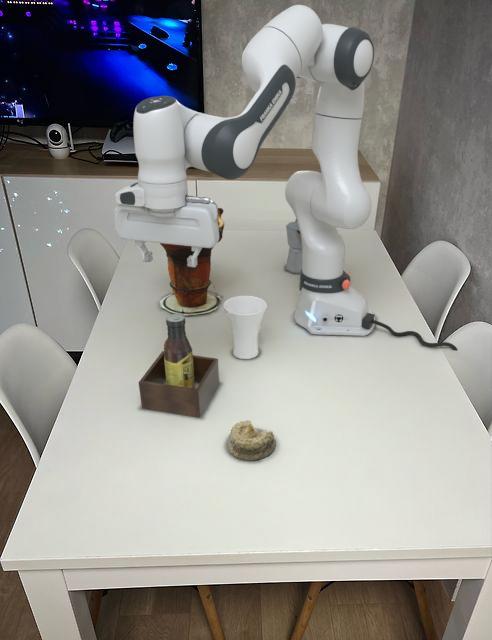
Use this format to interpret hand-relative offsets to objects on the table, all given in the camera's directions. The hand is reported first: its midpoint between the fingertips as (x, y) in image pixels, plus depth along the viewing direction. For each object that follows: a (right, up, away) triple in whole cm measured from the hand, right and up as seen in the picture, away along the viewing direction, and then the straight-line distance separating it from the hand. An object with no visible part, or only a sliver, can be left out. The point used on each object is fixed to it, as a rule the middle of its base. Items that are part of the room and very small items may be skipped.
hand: (170, 263), depth 121 cm
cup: (+14, -16, +34) cm, 40 cm away
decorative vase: (-3, 0, +58) cm, 58 cm away
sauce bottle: (0, -27, +18) cm, 32 cm away
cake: (+16, -37, +4) cm, 40 cm away
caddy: (0, -27, +18) cm, 32 cm away
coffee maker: (+29, +14, +80) cm, 86 cm away
